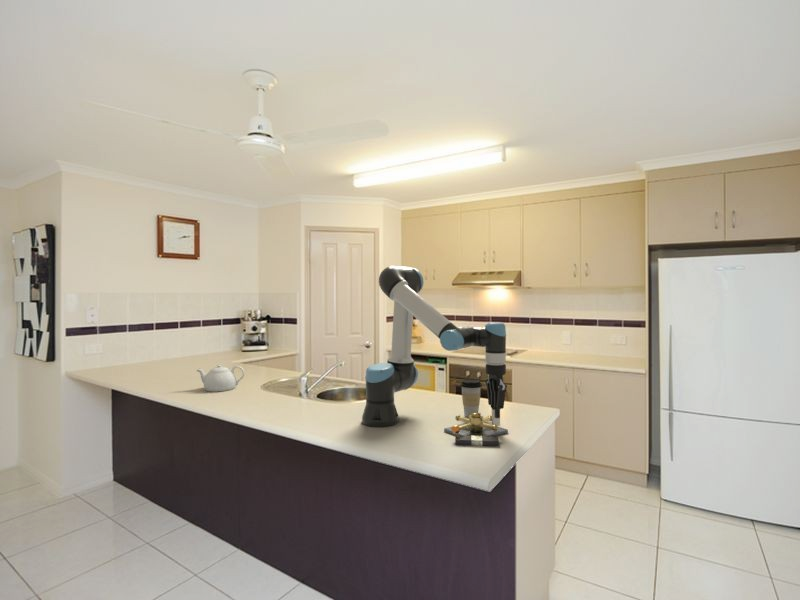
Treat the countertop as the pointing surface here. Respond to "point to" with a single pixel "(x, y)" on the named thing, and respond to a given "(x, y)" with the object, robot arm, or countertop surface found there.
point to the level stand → (477, 436)
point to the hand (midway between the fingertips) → (495, 425)
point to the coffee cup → (470, 395)
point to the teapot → (220, 378)
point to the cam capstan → (474, 423)
